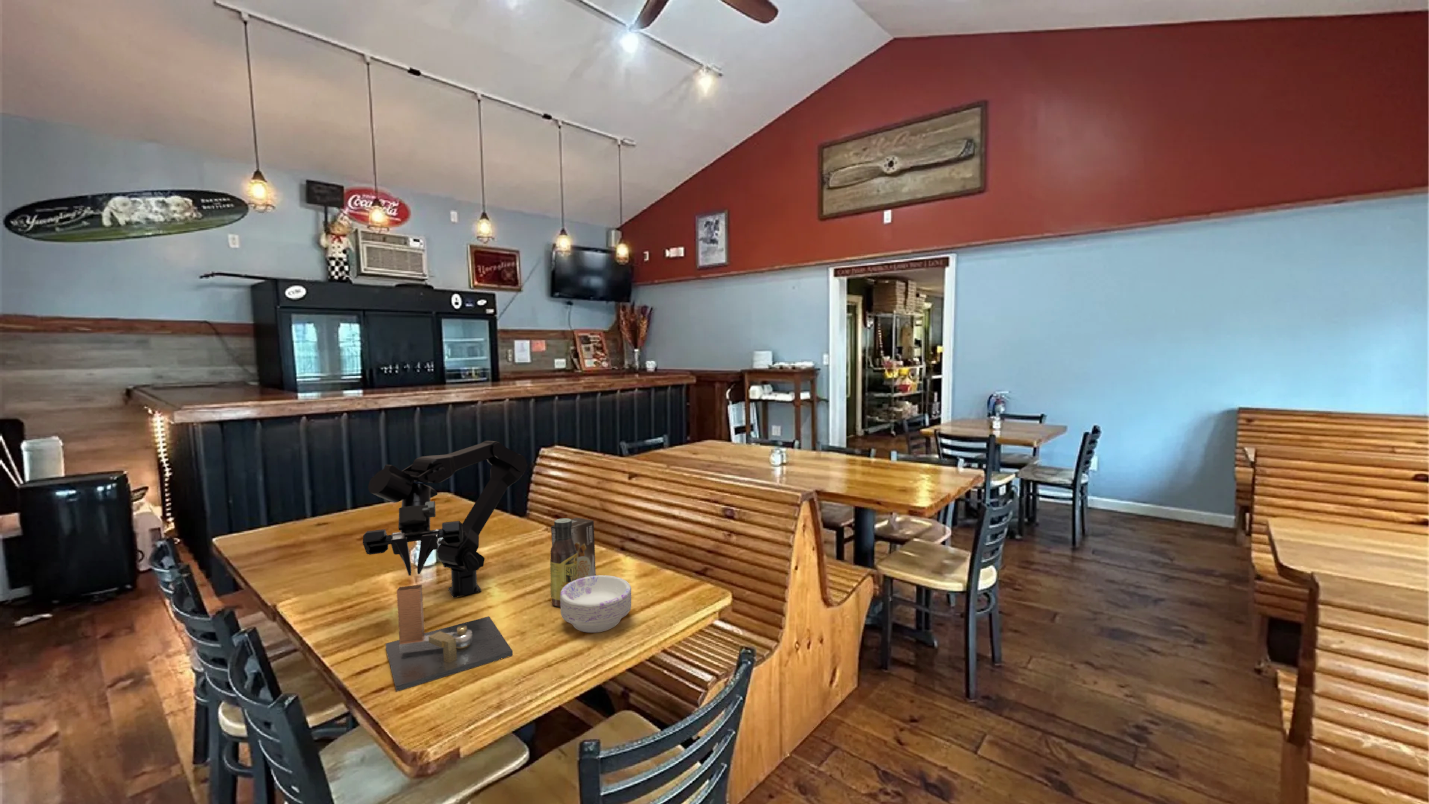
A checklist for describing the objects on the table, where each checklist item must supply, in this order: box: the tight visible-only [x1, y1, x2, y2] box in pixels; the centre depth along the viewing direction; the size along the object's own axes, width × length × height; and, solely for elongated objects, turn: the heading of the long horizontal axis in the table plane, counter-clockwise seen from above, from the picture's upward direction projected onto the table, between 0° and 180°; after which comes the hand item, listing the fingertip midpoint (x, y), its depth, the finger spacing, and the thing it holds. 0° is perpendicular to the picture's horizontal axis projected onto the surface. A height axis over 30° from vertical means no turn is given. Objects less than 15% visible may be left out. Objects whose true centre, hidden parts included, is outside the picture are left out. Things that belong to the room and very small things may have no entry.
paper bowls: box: [560, 574, 632, 634], centre depth 124 cm, size 15×15×8 cm
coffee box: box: [550, 517, 597, 579], centre depth 144 cm, size 9×6×16 cm
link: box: [396, 584, 472, 654], centre depth 111 cm, size 13×4×12 cm, turn 105°
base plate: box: [385, 616, 514, 692], centre depth 112 cm, size 18×20×1 cm
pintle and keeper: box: [428, 625, 470, 663], centre depth 110 cm, size 7×8×5 cm
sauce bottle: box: [549, 517, 578, 608], centre depth 133 cm, size 7×6×20 cm
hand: (414, 574), depth 117 cm, fingers closed
